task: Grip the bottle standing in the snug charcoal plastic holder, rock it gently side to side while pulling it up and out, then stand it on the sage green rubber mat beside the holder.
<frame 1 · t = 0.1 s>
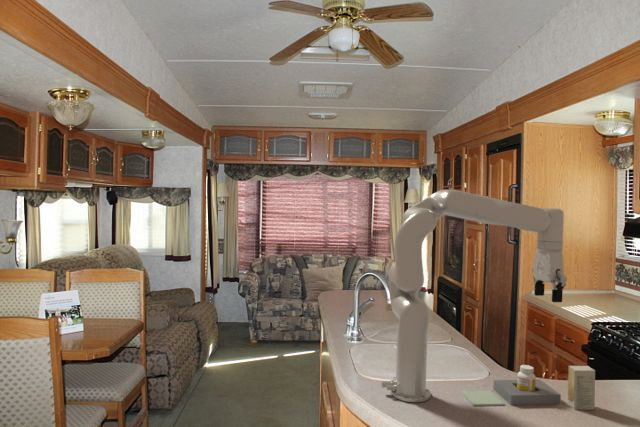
hand: (547, 298, 156), 31 cm above the counter, tool pointing down, fingers open, 9 cm apart
supplement bottle: (525, 396, 154), resting in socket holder
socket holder: (525, 396, 154), on the counter
skincare box: (580, 407, 146), on the counter
rubber mat: (481, 398, 151), on the counter
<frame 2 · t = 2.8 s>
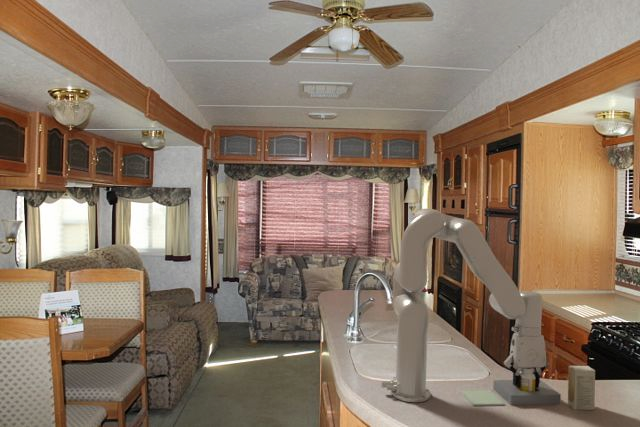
hand: (526, 385, 153), 4 cm above the counter, tool pointing down, fingers closed on supplement bottle, 5 cm apart
supplement bottle: (525, 396, 154), resting in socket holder, touching gripper
everything else where it was.
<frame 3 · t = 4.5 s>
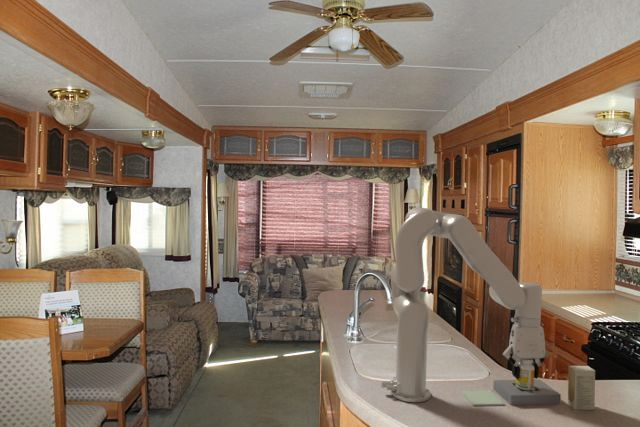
hand: (525, 376, 154), 6 cm above the counter, tool pointing down, fingers closed on supplement bottle, 5 cm apart
supplement bottle: (524, 387, 154), point 3 cm above the counter, touching gripper
everything else where it was.
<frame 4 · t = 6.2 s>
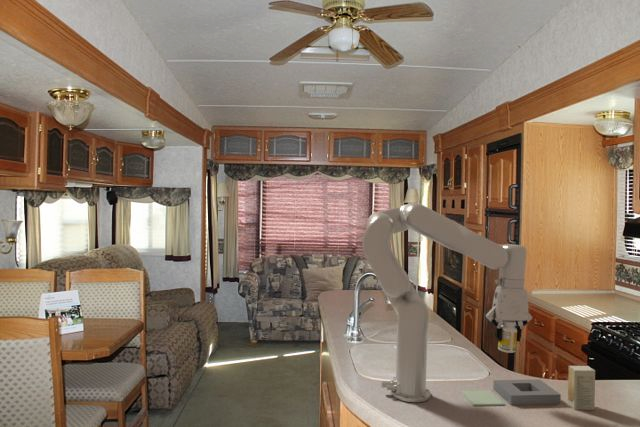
hand: (507, 339, 152), 19 cm above the counter, tool pointing down, fingers closed on supplement bottle, 5 cm apart
supplement bottle: (506, 350, 152), point 15 cm above the counter, touching gripper
everything else where it was.
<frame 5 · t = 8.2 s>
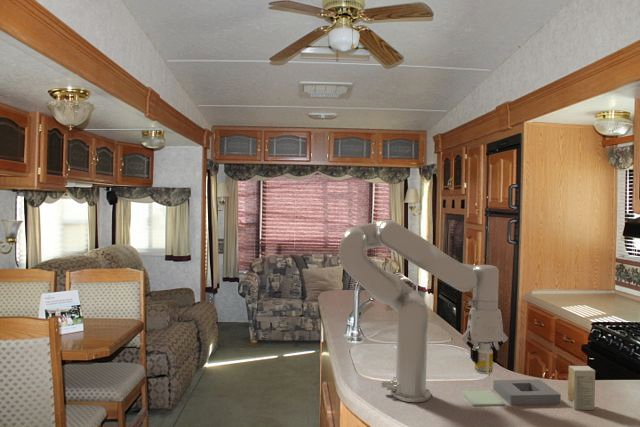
hand: (483, 360, 151), 12 cm above the counter, tool pointing down, fingers closed on supplement bottle, 5 cm apart
supplement bottle: (483, 372, 151), point 8 cm above the counter, touching gripper
everything else where it was.
when the fingers open (5 cm above the counter, at t = 9.8 s): supplement bottle drops 1 cm, resting on rubber mat.
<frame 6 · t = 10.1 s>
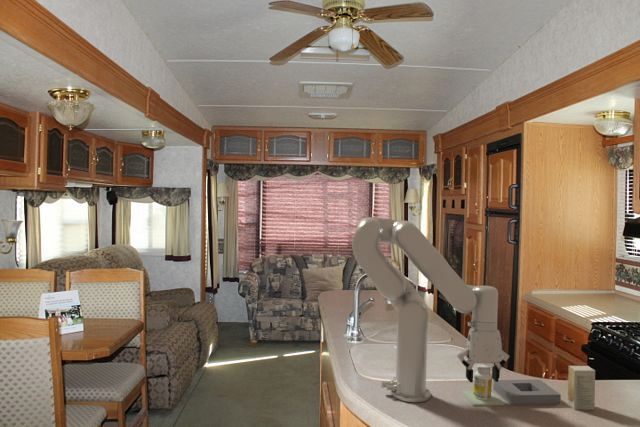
hand: (482, 380, 151), 6 cm above the counter, tool pointing down, fingers open, 7 cm apart
supplement bottle: (482, 397, 151), resting on rubber mat
everything else where it was.
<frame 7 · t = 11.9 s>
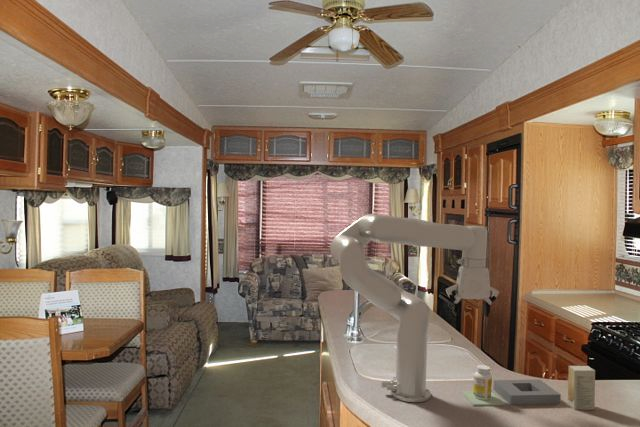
hand: (471, 315, 157), 25 cm above the counter, tool pointing down, fingers open, 9 cm apart
nothing on the counter moved.
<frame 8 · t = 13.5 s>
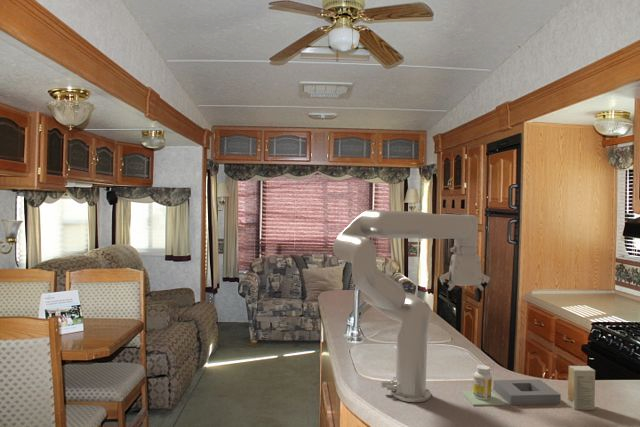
hand: (463, 301, 162), 28 cm above the counter, tool pointing down, fingers open, 9 cm apart
nothing on the counter moved.
at the end: supplement bottle inside the target area on the rubber mat (0.1 cm from its centre), point 0.3 cm above the rubber mat's base; supplement bottle tilted 0°; the gripper is holding nothing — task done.
